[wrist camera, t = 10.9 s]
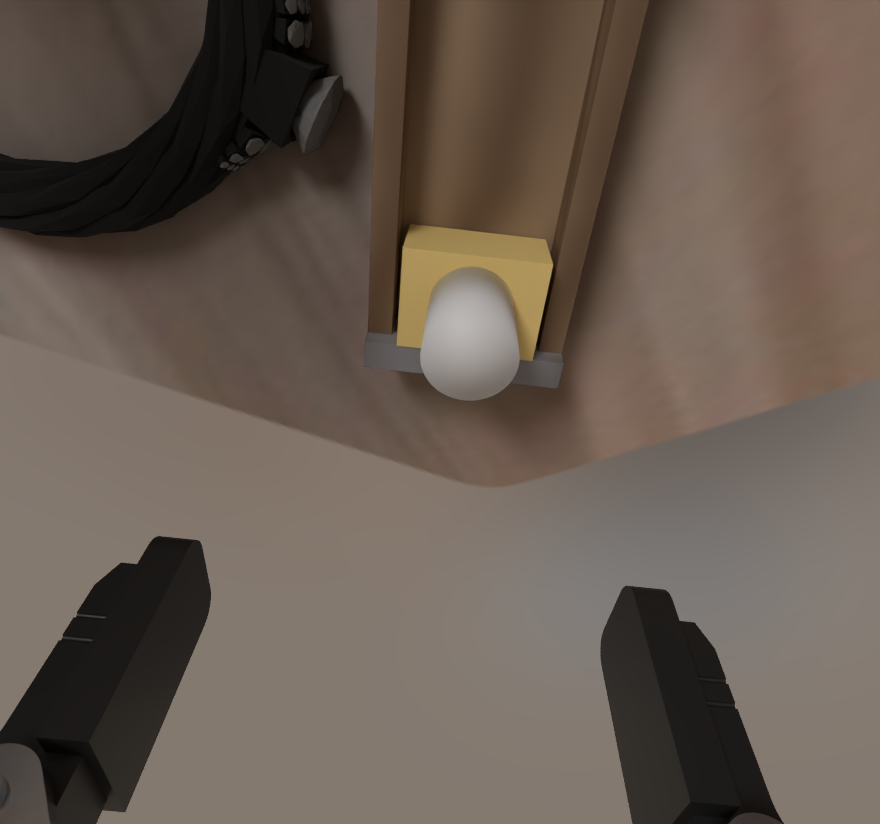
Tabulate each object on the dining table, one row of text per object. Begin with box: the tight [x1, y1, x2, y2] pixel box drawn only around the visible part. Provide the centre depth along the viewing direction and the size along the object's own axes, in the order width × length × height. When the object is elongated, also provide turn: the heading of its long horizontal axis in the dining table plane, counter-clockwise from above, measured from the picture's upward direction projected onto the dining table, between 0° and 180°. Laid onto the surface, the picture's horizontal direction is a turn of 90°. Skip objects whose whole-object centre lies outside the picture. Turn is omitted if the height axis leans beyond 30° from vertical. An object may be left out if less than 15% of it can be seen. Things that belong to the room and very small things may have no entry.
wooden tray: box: [364, 0, 649, 389], centre depth 26 cm, size 10×22×5 cm, turn 174°
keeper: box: [397, 224, 553, 401], centre depth 27 cm, size 7×5×8 cm
